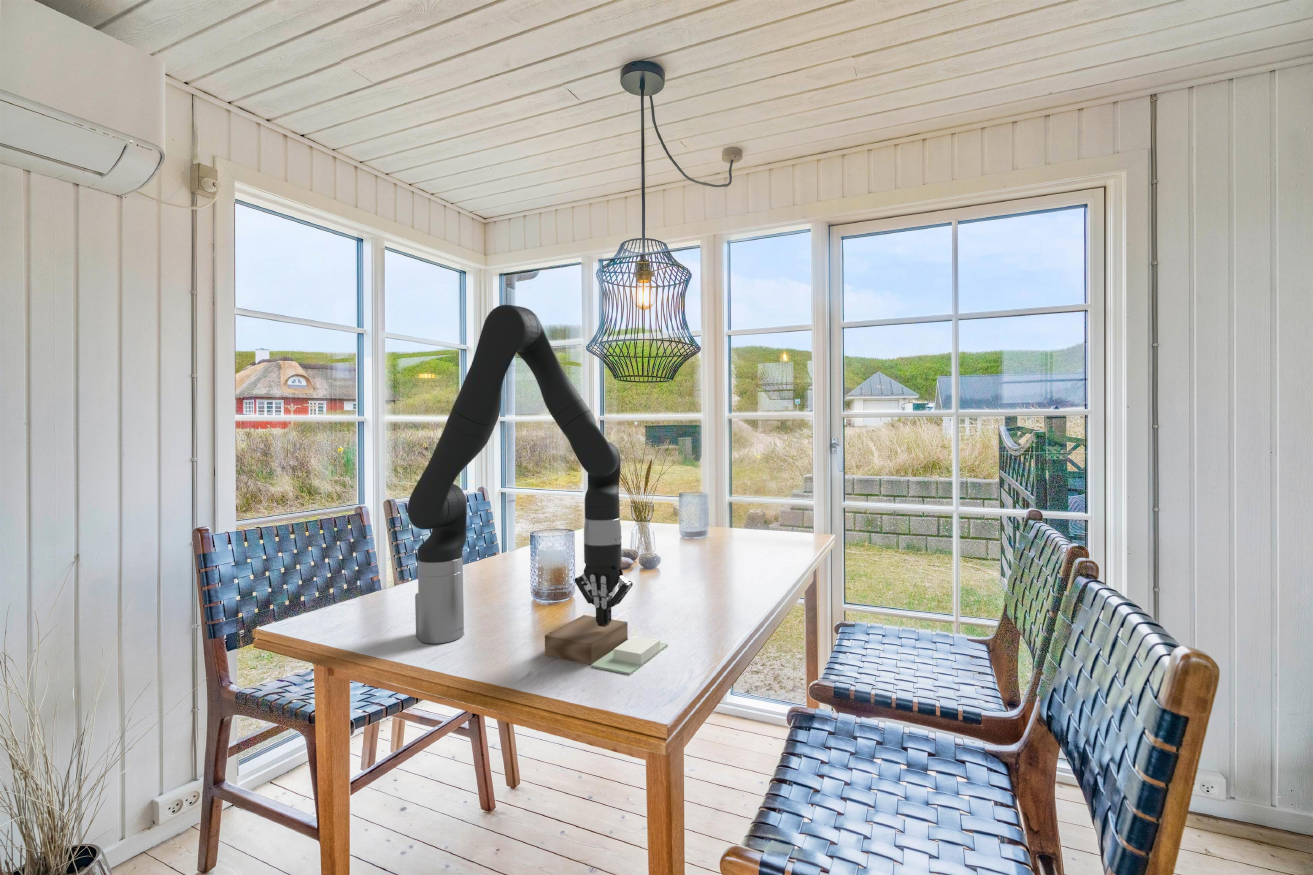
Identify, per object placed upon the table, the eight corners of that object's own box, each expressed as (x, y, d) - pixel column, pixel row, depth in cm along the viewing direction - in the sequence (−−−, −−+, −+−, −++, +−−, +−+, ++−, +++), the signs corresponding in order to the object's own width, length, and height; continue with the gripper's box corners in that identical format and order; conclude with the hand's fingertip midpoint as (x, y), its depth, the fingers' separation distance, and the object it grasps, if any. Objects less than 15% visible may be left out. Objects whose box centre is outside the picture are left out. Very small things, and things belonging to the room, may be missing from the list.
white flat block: (641, 653, 114) (641, 664, 114) (659, 640, 121) (659, 649, 121) (613, 648, 117) (613, 659, 117) (633, 635, 124) (633, 645, 124)
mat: (590, 666, 114) (590, 664, 114) (632, 639, 128) (632, 637, 128) (630, 674, 110) (630, 672, 110) (668, 645, 124) (668, 643, 124)
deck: (545, 655, 120) (544, 635, 120) (584, 632, 133) (583, 614, 132) (591, 664, 115) (591, 643, 115) (627, 640, 128) (627, 621, 128)
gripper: (564, 540, 121) (566, 626, 122) (621, 546, 115) (622, 636, 116) (585, 534, 128) (586, 615, 128) (640, 539, 122) (641, 624, 122)
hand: (603, 625), depth 122 cm, fingers closed
